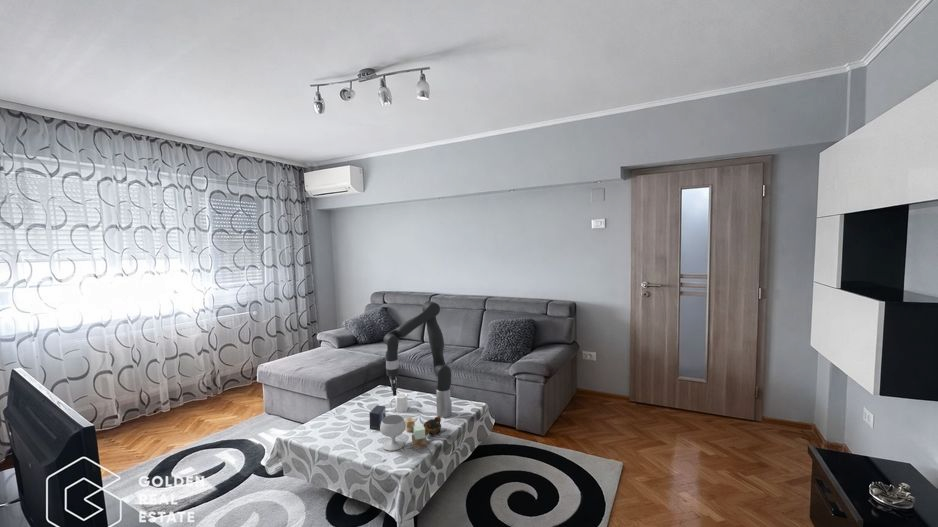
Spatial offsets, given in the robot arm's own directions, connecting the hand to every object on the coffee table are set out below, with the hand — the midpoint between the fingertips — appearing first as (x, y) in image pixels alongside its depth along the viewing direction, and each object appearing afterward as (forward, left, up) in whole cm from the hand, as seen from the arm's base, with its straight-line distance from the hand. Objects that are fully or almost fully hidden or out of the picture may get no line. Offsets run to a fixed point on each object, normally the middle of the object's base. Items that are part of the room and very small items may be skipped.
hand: (394, 392), depth 234 cm
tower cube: (-10, +25, -17) cm, 32 cm away
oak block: (-8, +5, -22) cm, 24 cm away
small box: (+10, -7, -22) cm, 25 cm away
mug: (-5, -24, -22) cm, 33 cm away
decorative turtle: (-20, +14, -22) cm, 33 cm away
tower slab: (-10, +24, -22) cm, 34 cm away
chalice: (+3, +20, -22) cm, 30 cm away
